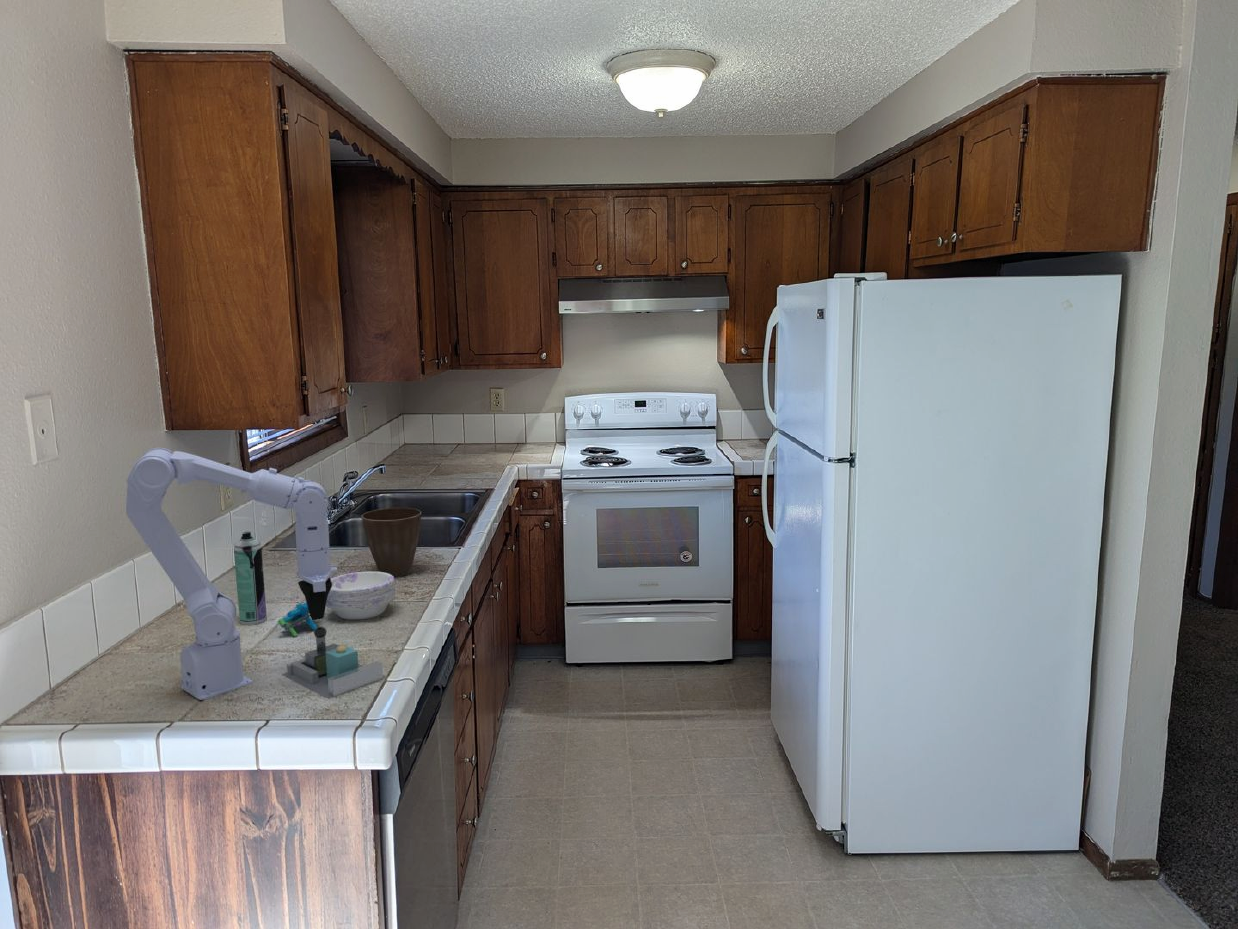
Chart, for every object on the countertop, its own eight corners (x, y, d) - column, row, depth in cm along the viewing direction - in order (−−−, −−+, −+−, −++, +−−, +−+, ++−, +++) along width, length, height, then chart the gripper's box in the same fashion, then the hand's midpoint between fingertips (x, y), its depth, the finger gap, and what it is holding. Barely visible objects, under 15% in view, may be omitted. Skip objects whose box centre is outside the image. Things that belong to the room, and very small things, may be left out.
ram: (316, 678, 154) (313, 635, 153) (304, 672, 157) (301, 630, 155) (345, 668, 159) (342, 626, 157) (333, 662, 161) (331, 621, 160)
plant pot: (363, 584, 211) (359, 521, 208) (366, 567, 225) (363, 509, 223) (424, 579, 214) (421, 518, 212) (423, 563, 229) (421, 506, 226)
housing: (339, 686, 151) (337, 653, 150) (327, 680, 153) (325, 647, 152) (359, 679, 154) (357, 646, 153) (346, 673, 156) (344, 641, 155)
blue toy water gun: (309, 610, 187) (325, 586, 181) (325, 630, 186) (342, 607, 181) (267, 632, 178) (283, 607, 172) (284, 654, 177) (301, 629, 172)
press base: (328, 700, 146) (327, 682, 146) (281, 676, 156) (280, 659, 156) (387, 678, 155) (386, 661, 155) (339, 656, 165) (338, 640, 165)
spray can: (271, 620, 185) (264, 532, 182) (246, 627, 181) (239, 536, 178) (260, 614, 189) (253, 528, 186) (235, 621, 185) (228, 532, 182)
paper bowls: (347, 600, 199) (345, 568, 197) (407, 604, 196) (406, 571, 194) (311, 622, 184) (309, 587, 183) (376, 627, 181) (374, 592, 180)
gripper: (341, 554, 150) (345, 627, 152) (330, 536, 163) (334, 603, 165) (299, 559, 147) (304, 633, 149) (291, 540, 160) (295, 609, 162)
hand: (317, 618), depth 157 cm, fingers closed
